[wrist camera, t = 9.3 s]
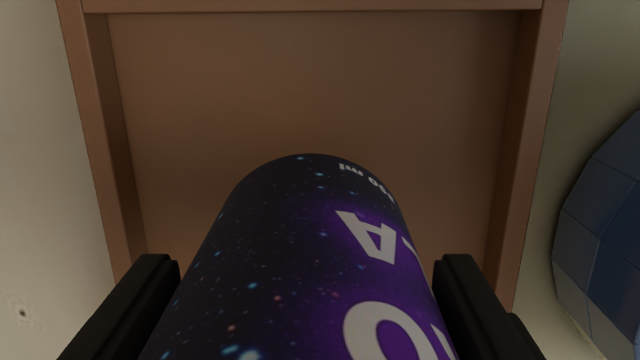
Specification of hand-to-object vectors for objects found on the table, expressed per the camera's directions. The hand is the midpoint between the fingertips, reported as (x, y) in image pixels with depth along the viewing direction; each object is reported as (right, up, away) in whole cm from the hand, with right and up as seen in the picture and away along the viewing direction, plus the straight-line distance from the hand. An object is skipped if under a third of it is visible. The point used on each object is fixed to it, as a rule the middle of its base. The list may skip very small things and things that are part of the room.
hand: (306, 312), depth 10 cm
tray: (0, +3, +7) cm, 8 cm away
